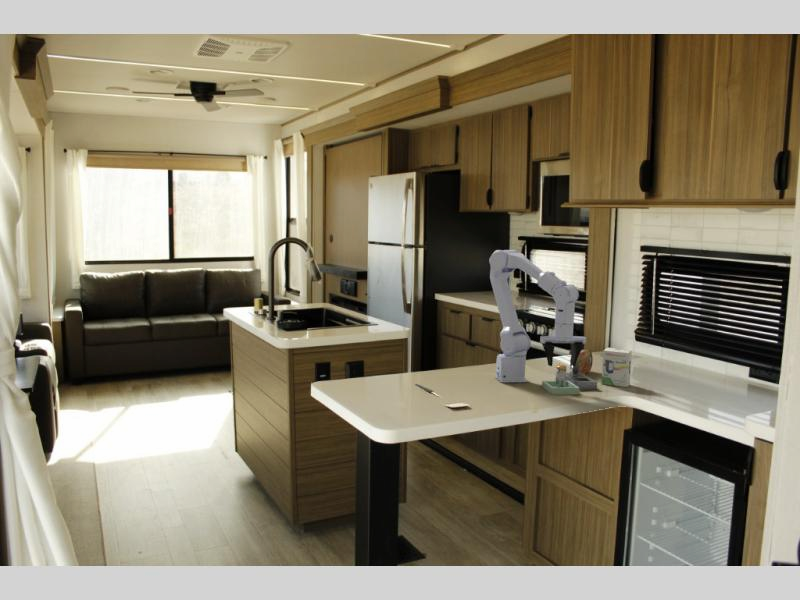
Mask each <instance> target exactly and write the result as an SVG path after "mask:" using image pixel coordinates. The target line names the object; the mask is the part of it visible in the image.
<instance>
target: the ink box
mask: <svg viewBox="0 0 800 600" xmlns="http://www.w3.org/2000/svg"><path fill="white" fill-rule="evenodd" d="M602 352H603V353H602V370H601V371H602V373H601V377H602V378H601V385H605V386H614V387H623V388H628V387H629V386H630V384H631V373H632V371H631V370H632V356H633V355H632V353H633V351H632V350H630V349H622V348H615V347H605V348H604V349H603V350H602Z"/></svg>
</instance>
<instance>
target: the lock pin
mask: <svg viewBox="0 0 800 600" xmlns="http://www.w3.org/2000/svg"><path fill="white" fill-rule="evenodd" d="M555 371H556V373H555V381H556V386H555V387H565V381H566V373H567V365H564V364H556V370H555Z"/></svg>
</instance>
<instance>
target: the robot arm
mask: <svg viewBox="0 0 800 600" xmlns="http://www.w3.org/2000/svg"><path fill="white" fill-rule="evenodd" d="M488 261H489V264H490V265H489V266H490V270H489V280H490V284H491V288H492V291H493V295H494V299H495V302H496V305H497V309H498V313H499V317H500V320H501V324H502V330H501V331H500V333H499V336H500V344H499V346H500V349H501V351H502V352H503V353H502V354H501V353H499V354H497V356H496V360H495V361H496V362H495V363H496V364H495V376H494V378H496V379H497V380H498V381H499V382H501V383H530V382H529V379H527V378H525V377H526V363H527V360H526V359H527V354H528V353H527V352H528V350H529V349H530V347H531V343H532V342H531V338H530V336H529V335H528V333H527V332H526V328H525V327H523V326H522V325H521V324H520V322H519V318H518V313H517V310H516V307H515V303H514V300H513V296H512V293H511V288H510V285H509V282H508V278H509V277H510V276H511V274H512V273H513V272H514V271H515V270H516V269H519V270H521V271H522V272H524V273H525V274H526V275H529V276H530V277H531V278H533V279H534V280H536V281H537V286H538V287H539V288H541V289H542V290H543V291H545V292H547V293H548V294H549V295H550V296H552V299H553V301H554V302H555V317H554V331H553V333H554V334H553V335H541V336H539V337H540V339H539V342H540V344H542V347H543V350H544V352H545V356H546V360H547V361H546V362H547V365H548V366H549V367H553V364H554V363H553V361H554V359H553V358H554V352H555V345H554V344H570V351H571V352H570V359H571V365H572V366H575V365H576V361H577V359H578V356H579V354H580V352H581V351H582V350H584V346H585V345H584V344H587V337H585V336H576V335H574V322H575V321H574V320H575V306H576V305H575V304H576V302H577V301H578V299H579V296H580V293H579V289H578V288H577V286H575V285H574V284H570V283H569V284H568V283H567V281H566V280H562V279H561V278H559V277H558V276H557V275H556V273H555V272H554V271H549V270H548V271H543V270H542V269H540V268H539V267H538V266H537V265H536V264H534V263H533V262H532V261H531V260H530V259H528V258H527V257H526V256H525V254H523V253H522V252H519V251H518V250H517V249H515V248H514V249H504V250H502V249H496V250H494V252H493V253H491V256H490V257H489V260H488Z"/></svg>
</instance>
